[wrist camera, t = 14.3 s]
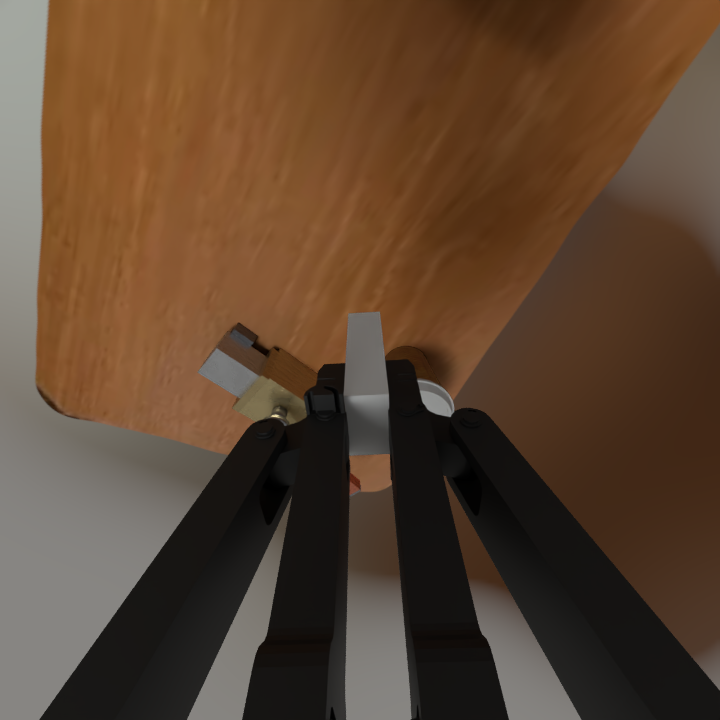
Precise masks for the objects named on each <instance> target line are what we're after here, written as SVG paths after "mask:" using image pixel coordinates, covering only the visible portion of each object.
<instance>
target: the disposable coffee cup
mask: <svg viewBox="0 0 720 720" xmlns="http://www.w3.org/2000/svg"><path fill="white" fill-rule="evenodd" d="M402 359H408V360H409V361H410V362H411V363H412V364H413V365H414V367H415V371H416V376H417V381H418V384H419V389H420V393H421V398H422V402H423V404H425V406H426V407H427V409H428V410H429V411H431V412H433V413H435V414H438V415H442V416H448V417H451V415H452V414H453V413H454V404H453V401H452V398H451V397H450V395H449V393H448V392H447V391H446V390H445V389H444V388H442V386H441V385H440V383H439V381H438V379H437V377H436V376H435V374H434V372H433V370H432V368H431V367H430V365H429V363H428V361H427V359H426V357H425V356H424V354H423V353H422V352H421V351H420V350H418V349H416V348H414V347H409V346H404V347H399V348H396V349H394V350H392V351H391V352H389V354H388V355H387V356H386V357H385V360H402Z"/></svg>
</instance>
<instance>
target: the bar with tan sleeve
mask: <svg viewBox="0 0 720 720" xmlns="http://www.w3.org/2000/svg"><path fill="white" fill-rule="evenodd" d="M256 337H257V335H256V334H254V333H253V332H251V331H250V330H248V329H247V328H246V327H244V326H243V325H241V324H240V323H238V324H237V325H236V326H235V327H234V329H233V330H232V331H231V332H229V331H227V333H226V334H225V335H224V336H223V338H222V339H221V340H220V341H219V343H218V344H217V345H216V347H215V348H214V349H213V350H212V352H211V353H210V354H209V356H208V357H207V359H206V360H205V362H204V363H203V365H202V366H201V368H200V369H199V371H198V373H199V374H201V375H203V376H204V377H206V378H208V379H209V380H211V381H212V382H214V383H216V384H217V385H219V386H220V387H222V388H224V389H225V390H227V391H229V392H230V393H232V394H233V395H235V396H237V399H236V401H235V403H234V405H233V407H232V409H234V410H236V411H237V412H240V413H242V414H243V415H245V416H247V417H248V418H250V419H252V420H253V421H255V422H257V421H259V420H262V419H264V418H265V417H266V416H269V415H280V416H283V417H284V418H286V419H287V420H288V421H289V423H290V424H293V423H296V422H299V421H301V420H303V419H304V418H306V416H307V414H306V408H305V402H304V394H305V392H306V391H307V390H308V389H309V388H311V387H313V386H316V382H317V376H318V374H317V373H315V372H314V371H312V370H311V369H310V368H308V367H307V366H305V365H304V364H302V363H301V362H300V361H298V360H297V359H295V358H294V357H293V356H291V355H290V354H288V353H287V352H285V351H284V350H283V349H281V348H280V349H279V350H278V351H277V350H276V349H274V348H272V349H271V350H270V351H269V352H268V354H267V355H266V356H265V355H263V354H262V353H260V352H259V351H257V350H256V349H254V348H253V347H251V345H252V344H253V343H254V341H255V339H256Z"/></svg>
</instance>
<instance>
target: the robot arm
mask: <svg viewBox="0 0 720 720" xmlns="http://www.w3.org/2000/svg"><path fill="white" fill-rule="evenodd" d="M304 402H305V408H306V414H307V416H306V418H304V419H303V420H301V421H299V422H296V423H293V424H290V425H286V426H284V423H282V422H281V421H280V420H278V419H274V418H266V419H262V420H259V421H257V422H255V423H253V424H252V425H251V426H250V427H249V428H248V429H247V430H246V431H245V433H244V434H243V435H242V437H241V438H240V440H239V441H238V442H237V444H236V445H235V447H234V448H233V449H232V451H231V452H230V454H229V455H228V457H227V458H226V459H225V461H224V462H223V464H222V465H221V467H220V468H219V469H218V471H217V472H216V473H215V475H214V476H213V477H212V479H211V480H210V482H209V483H208V485H207V486H206V487H205V489H204V490H203V491H202V493H201V494H200V496H199V497H198V498H197V500H196V501H195V503H194V504H193V505H192V507H191V508H190V510H189V511H188V513H187V514H186V515H185V517H184V518H183V520H182V521H181V522H180V524H179V525H178V526H177V528H176V529H175V531H174V532H173V534H172V535H171V536H170V538H169V539H168V541H167V542H166V543H165V545H164V546H163V547H162V549H161V550H160V552H159V553H158V554H157V556H156V557H155V559H154V560H153V561H152V563H151V564H150V566H149V567H148V568H147V570H146V571H145V573H144V574H143V575H142V577H141V578H140V580H139V581H138V582H137V584H136V585H135V587H134V588H133V589H132V591H131V592H130V594H129V595H128V596H127V598H126V599H125V601H124V602H123V603H122V605H121V606H120V608H119V609H118V610H117V612H116V613H115V615H114V616H113V617H112V619H111V621H110V622H109V623H108V624H107V626H106V627H105V629H104V630H103V631H102V633H101V634H100V636H99V637H98V638H97V640H96V641H95V643H94V644H93V645H92V647H91V648H90V650H89V651H88V653H87V654H86V655H85V657H84V658H83V659H82V661H81V662H80V664H79V665H78V666H77V668H76V670H75V671H74V672H73V673H72V675H71V676H70V678H69V679H68V680H67V682H66V683H65V685H64V686H63V687H62V689H61V690H60V692H59V693H58V694H57V696H56V697H55V699H54V700H53V701H52V703H51V704H50V706H49V707H48V708H47V710H46V711H45V713H44V714H43V715H42V717H41V718H40V720H187V718H188V716H189V713H190V712H191V709H192V707H193V705H194V703H195V701H196V699H197V697H198V695H199V692H200V690H201V688H202V686H203V684H204V682H205V679H206V677H207V675H208V673H209V671H210V669H211V667H212V665H213V662H214V660H215V658H216V656H217V654H218V652H219V650H220V648H221V645H222V643H223V641H224V639H225V637H226V635H227V633H228V631H229V628H230V626H231V624H232V622H233V620H234V617H235V616H236V613H237V611H238V609H239V607H240V605H241V603H242V601H243V599H244V596H245V594H246V592H247V590H248V588H249V586H250V583H251V581H252V579H253V577H254V575H255V573H256V571H257V569H258V567H259V564H260V562H261V560H262V558H263V556H264V554H265V551H266V549H267V547H268V545H269V543H270V541H271V539H272V537H273V534H274V532H275V530H276V528H277V526H278V524H279V522H280V520H281V517H282V515H283V513H284V511H285V509H286V507H287V505H288V503H289V500H290V498H291V496H292V499H291V505H290V511H289V516H288V522H287V527H286V533H285V538H284V544H283V549H282V555H281V561H280V566H279V572H278V577H277V583H276V588H275V594H274V599H273V605H272V610H271V617H270V622H269V627H268V632H267V636H266V638H265V641H264V642H263V643H262V644H261V645H260V646H259V648H258V650H257V653H256V655H255V660H254V664H253V668H252V673H251V678H250V683H249V688H248V693H247V698H246V703H245V708H244V713H243V719H242V720H346V704H345V663H346V622H347V580H348V537H349V497H350V460H349V453H350V456H351V455H374V454H390V470H391V480H392V489H393V501H394V511H395V523H396V535H397V546H398V558H399V569H400V580H401V592H402V603H403V613H404V625H405V637H406V648H407V660H408V671H409V683H410V696H411V697H410V698H411V716H412V719H411V720H509V718H508V714H507V710H506V707H505V702H504V698H503V694H502V690H501V686H500V683H499V679H498V674H497V670H496V666H495V662H494V659H493V655H492V652H491V648H490V646H489V644H488V641H487V639H486V638H485V637H484V636H483V635H482V633H481V631H480V628H479V624H478V621H477V616H476V612H475V608H474V604H473V600H472V595H471V591H470V587H469V583H468V579H467V574H466V570H465V566H464V562H463V558H462V553H461V549H460V545H459V541H458V536H457V533H456V528H455V524H454V519H453V515H452V511H451V507H450V502H449V498H448V494H447V490H446V486H445V481H444V477H443V475H444V476H446V478H447V481H448V482H449V484H450V486H451V488H452V490H453V491H454V493H455V495H456V497H457V499H458V500H459V502H460V504H461V506H462V508H463V509H464V511H465V513H466V515H467V516H468V518H469V520H470V522H471V524H472V525H473V527H474V529H475V530H476V532H477V534H478V536H479V538H480V539H481V541H482V543H483V545H484V547H485V548H486V550H487V552H488V554H489V556H490V557H491V559H492V561H493V563H494V565H495V566H496V568H497V570H498V572H499V573H500V575H501V577H502V579H503V580H504V582H505V584H506V586H507V587H508V589H509V591H510V593H511V595H512V596H513V598H514V600H515V602H516V604H517V605H518V607H519V609H520V611H521V613H522V614H523V616H524V618H525V620H526V621H527V623H528V625H529V627H530V629H531V630H532V632H533V634H534V636H535V637H536V639H537V641H538V643H539V645H540V646H541V648H542V650H543V652H544V653H545V655H546V657H547V659H548V660H549V662H550V664H551V666H552V668H553V669H554V671H555V673H556V675H557V676H558V678H559V680H560V682H561V684H562V686H563V687H564V689H565V691H566V692H567V694H568V696H569V698H570V700H571V701H572V703H573V705H574V707H575V709H576V710H577V712H578V714H579V716H580V718H581V719H582V720H720V690H719V689H718V688H717V687H716V686H715V684H714V683H713V682H712V681H711V680H710V679H709V677H708V676H707V675H706V674H705V673H704V671H703V670H702V669H701V668H700V667H699V665H698V664H697V663H696V662H695V661H694V660H693V658H691V656H690V655H689V654H688V652H687V651H686V650H685V649H684V648H683V646H682V645H681V644H680V643H679V642H678V640H677V639H676V638H675V637H674V636H673V634H672V633H671V632H670V631H669V630H668V629H667V627H666V626H665V625H664V624H663V623H662V621H661V620H660V619H659V618H658V617H657V616H656V614H655V613H654V612H653V611H652V610H651V608H650V607H649V606H648V605H647V604H646V602H645V601H644V600H643V599H642V598H641V596H640V595H639V594H638V593H637V592H636V590H635V589H634V588H633V587H632V586H631V584H630V583H629V582H628V581H627V580H626V579H625V577H624V576H623V575H622V574H621V573H620V571H619V570H618V569H617V568H616V567H615V565H614V564H613V563H612V562H611V561H610V560H609V558H608V557H607V556H606V555H605V554H604V552H603V551H602V550H601V549H600V548H599V546H598V545H597V544H596V543H595V542H594V541H593V539H592V538H591V537H590V536H589V535H588V533H587V532H586V531H585V530H584V529H583V528H582V526H581V525H580V524H579V523H578V521H577V520H576V519H575V518H574V517H573V515H572V514H571V513H570V512H569V511H568V510H567V508H566V507H565V506H564V505H563V504H562V502H560V500H559V499H558V498H557V496H556V495H555V494H554V493H553V492H552V490H550V488H549V487H548V486H547V485H546V483H545V482H544V481H543V480H542V479H541V477H540V476H539V475H538V474H537V473H536V471H535V470H534V469H533V468H532V467H531V466H530V464H529V463H528V462H527V461H526V460H525V458H524V457H523V456H522V455H521V454H520V452H519V451H518V450H517V449H516V448H515V446H514V445H513V444H512V443H511V442H510V441H509V439H508V438H507V437H506V436H505V434H504V433H503V432H502V431H501V430H500V429H499V427H498V426H497V425H496V424H495V423H494V421H493V420H492V419H491V418H490V417H489V416H488V415H487V414H486V413H484V412H482V411H480V410H478V409H473V408H461V409H459V410H457V411H455V412H454V413H453V414H452V415H451V417H448V416H442V415H438V414H435V413H433V412H431V411H429V410H428V409H427V407H426V406H425V404H423V402H422V398H421V393H420V389H419V384H418V381H417V376H416V371H415V367H414V365H413V364H412V363H411V362H410V361H409V360H408V359H402V360H385V355H384V346H383V337H382V328H381V318H380V312H367V313H349V314H348V331H347V348H346V363H341V364H324V365H323V367H322V368H321V369H320V370H319V371H318V376H317V382H316V386H313V387H311V388H309V389H308V390H307V391H306V392H305V394H304Z"/></svg>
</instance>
